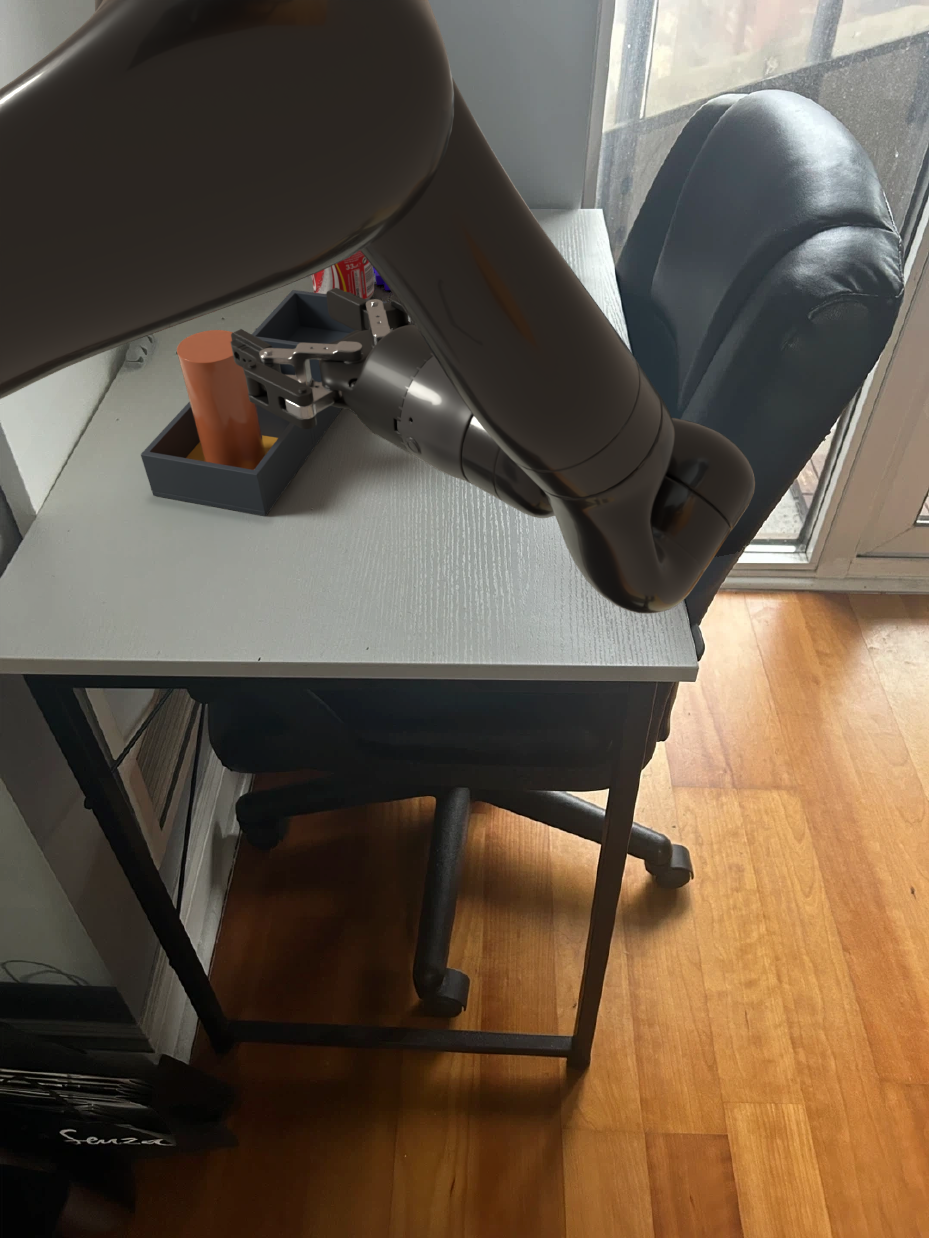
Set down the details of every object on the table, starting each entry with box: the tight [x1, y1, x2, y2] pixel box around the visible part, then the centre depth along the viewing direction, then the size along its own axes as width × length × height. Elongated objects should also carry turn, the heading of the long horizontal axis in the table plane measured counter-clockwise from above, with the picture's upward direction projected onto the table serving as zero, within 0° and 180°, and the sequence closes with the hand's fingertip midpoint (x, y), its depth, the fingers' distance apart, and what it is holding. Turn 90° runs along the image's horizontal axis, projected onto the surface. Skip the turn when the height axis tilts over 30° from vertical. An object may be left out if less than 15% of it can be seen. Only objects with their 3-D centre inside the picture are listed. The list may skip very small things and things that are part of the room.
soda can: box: [311, 251, 375, 300], centre depth 107 cm, size 7×7×13 cm
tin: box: [176, 329, 266, 470], centre depth 83 cm, size 6×6×12 cm
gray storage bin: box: [140, 289, 389, 517], centre depth 93 cm, size 32×11×4 cm, turn 163°
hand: (285, 322), depth 67 cm, fingers open, 8 cm apart
